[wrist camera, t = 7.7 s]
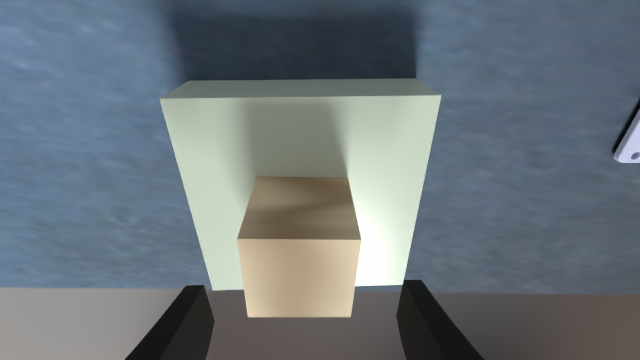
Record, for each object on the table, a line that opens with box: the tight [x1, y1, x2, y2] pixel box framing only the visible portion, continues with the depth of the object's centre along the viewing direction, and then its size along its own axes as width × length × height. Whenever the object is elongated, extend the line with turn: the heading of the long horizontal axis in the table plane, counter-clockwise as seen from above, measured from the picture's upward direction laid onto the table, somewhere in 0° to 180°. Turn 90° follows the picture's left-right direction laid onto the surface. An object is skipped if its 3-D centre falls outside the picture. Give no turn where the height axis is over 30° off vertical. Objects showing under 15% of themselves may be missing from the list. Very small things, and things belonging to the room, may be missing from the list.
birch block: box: [237, 176, 361, 317], centre depth 14 cm, size 4×4×4 cm
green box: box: [160, 78, 441, 290], centre depth 17 cm, size 12×12×4 cm
